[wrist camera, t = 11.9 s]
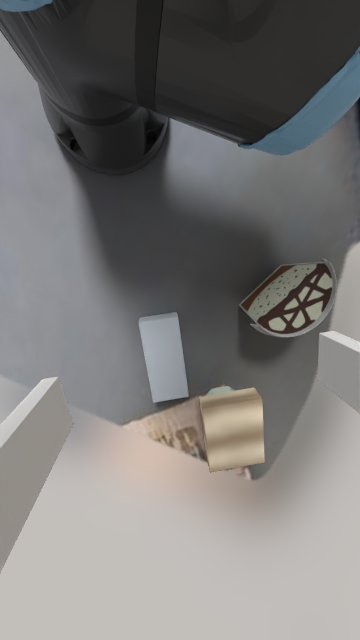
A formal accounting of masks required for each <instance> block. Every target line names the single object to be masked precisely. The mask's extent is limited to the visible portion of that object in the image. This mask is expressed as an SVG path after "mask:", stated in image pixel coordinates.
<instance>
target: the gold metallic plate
mask: <svg viewBox="0 0 360 640" xmlns="http://www.w3.org/2000/svg"><path fill="white" fill-rule="evenodd" d="M199 400H200V409H201V417H202V425H203V433H204V442H205V450H206V458H207V462H208V466H209V470H210V472H215V471H221V470H226V469H231V468H236V467H242V466H247V465H252V464H257V463H263V462H264V435H263V407H262V398H261V396H260V395H259V394H258V392H257V391H256V389H255V388H248V389H243V390H237V391H231V392H225V393H219V394H213V395H207V396H202V397H199Z"/></svg>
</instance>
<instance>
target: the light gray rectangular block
mask: <svg viewBox="0 0 360 640" xmlns="http://www.w3.org/2000/svg"><path fill="white" fill-rule="evenodd" d="M139 328H140V333H141V339H142V344H143V350H144V355H145V360H146V366H147V371H148V377H149V382H150V388H151V393H152V398H153V403H154V402H160V401H166V400H172V399H178V398H183V397H189V394H188V386H187V379H186V372H185V364H184V357H183V349H182V342H181V335H180V327H179V320H178V315H177V312H173V313H166V314H160V315H153V316H146V317H140V319H139Z"/></svg>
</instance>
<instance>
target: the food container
mask: <svg viewBox="0 0 360 640" xmlns="http://www.w3.org/2000/svg"><path fill="white" fill-rule="evenodd" d="M321 260H322V262H310V263H296V264H282V265H280V266H279V267H278V268H277V269H276V270H275V271H274V272H273V273H272V274H271V275H270V276H269V277H267V278H266V279H265V280H264V281H263V282H262V283H261V284H260V285H259V286H258V287H257V288H256V289H255V290H254V291H253V292H252V293H250V294H249V295H248V296H247V297H246V298H245V299H244V300H243V301H242V302H241V303H240V304H239V306H240V307H241V308H242V309H243V310H244V311H245V312H246V313H247V314H248V315H249V316H250V317H251V318H252V319H253V321H254V322H255V323H256V325H255V324H250V325H251V326H253V327H254V328H255V329H256V330H258V331H260V332H262V333H264V334H267V335H271V336H275V337H282V338H286V337H295V336H299V335H302V334H304V333H307V332H308V331H310V330H312V329H313V328H315V327H316V326H317V325H319V324H320V323H321V322H322V321H323V320H324V318H325V317H326V316H327V314H328V313H329V311H330V309H331V308H332V305H333V303H334V300H335V297H336V291H337V279H336V274H335V271H334V268H333V266H332V264H331V262H330V261H328V260H326V259H323V258H321Z"/></svg>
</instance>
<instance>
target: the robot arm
mask: <svg viewBox="0 0 360 640" xmlns="http://www.w3.org/2000/svg"><path fill="white" fill-rule="evenodd" d="M0 31H1V32H2V34H3V35H4V37H5V38H6V39H7V41H8V42H9V44H10V45H11V46H12V48H13V49H14V51H15V52H16V53H17V55H18V56H19V58H20V59H21V61H22V62H23V63H24V65H25V66H26V68H27V69H28V70H29V72H30V73H31V75H32V76H33V77H34V79H35V80H36V82H37V83H38V86H39V91H40V95H41V100H42V104H43V108H44V111H45V114H46V116H47V119H48V121H49V123H50V125H51V127H52V129H53V131H54V133H55V134H56V136H57V137H58V139H59V140H60V141H61V143H62V144H63V145H64V146H65V147H66V149H67V150H68V151H69V152H70V153H71V154H72V155H73V156H74V157H75V158H76V159H77V160H78V161H79V162H81V163H82V164H83V165H85V166H87V167H88V168H90V169H92V170H95V171H97V172H100V173H104V174H110V175H122V174H127V173H131V172H133V171H136V170H138V169H140V168H141V167H143V166H144V165H146V164H147V163H148V162H149V161H150V160H151V159H152V158H153V157H154V156H155V154H156V153H157V152H158V150H159V148H160V146H161V144H162V142H163V140H164V137H165V134H166V130H167V124H168V117H169V118H172V119H174V120H177V121H179V122H182V123H185V124H187V125H190V126H193V127H195V128H198V129H200V130H203V131H206V132H208V133H211V134H213V135H216V136H219V137H221V138H224V139H227V140H229V141H232V142H234V143H237V144H238V146H239V147H241V148H244V149H252V148H254V149H257V150H261V151H264V152H267V153H270V154H274V155H288V154H291V153H293V152H295V151H297V150H301V149H303V148H305V147H307V146H308V145H310V144H311V143H313V142H314V141H315V140H317V139H318V138H319V137H321V136H322V135H323V134H324V133H325V132H327V131H328V130H329V129H330V128H331V127H332V126H333V125H334V124H335V123H336V122H337V121H338V120H339V119H340V118H341V117H342V116H343V115H344V114H345V113H346V112H347V111H348V110H349V109H350V107H351V106H352V105H353V104H354V103H355V102H356V101H357V100H358V98H359V97H360V0H0ZM318 381H319V382H320V383H321V384H323V385H324V386H325V387H327V388H328V389H329V390H330V391H332V392H333V393H334V394H336V395H337V396H338V397H340V398H341V399H342V400H343V401H345V402H346V403H347V404H348V405H350V406H351V407H352V408H353V409H355V410H356V411H357V412H359V413H360V342H359V341H356V340H354V339H352V338H349V337H347V336H345V335H342V334H340V333H337V332H335V331H329V332H323V333H319V355H318ZM73 424H74V423H73V421H72V417H71V414H70V411H69V408H68V404H67V401H66V398H65V395H64V392H63V389H62V386H61V382H60V379H59V377H53V378H47V379H42V380H41V381H40V382H39V383H38V385H37V386H36V387H35V388H34V389H33V390H32V391H31V392H30V393H29V394H28V395H27V396H26V398H25V399H24V400H23V401H22V402H21V403H20V404H19V405H18V406H17V407H16V408H15V410H14V411H13V412H12V413H11V414H10V415H9V416H8V417H7V418H6V419H5V420H4V421H3V422H2V424H1V425H0V572H1V570H2V568H3V566H4V564H5V562H6V560H7V558H8V556H9V554H10V552H11V550H12V548H13V546H14V544H15V542H16V540H17V538H18V536H19V534H20V532H21V530H22V527H23V526H24V524H25V522H26V520H27V518H28V516H29V513H30V511H31V509H32V507H33V505H34V503H35V501H36V499H37V497H38V495H39V493H40V491H41V489H42V487H43V485H44V483H45V481H46V479H47V477H48V475H49V473H50V471H51V469H52V467H53V465H54V462H55V461H56V459H57V457H58V455H59V452H60V451H61V449H62V447H63V445H64V443H65V441H66V438H67V436H68V434H69V432H70V430H71V428H72V426H73Z"/></svg>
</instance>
